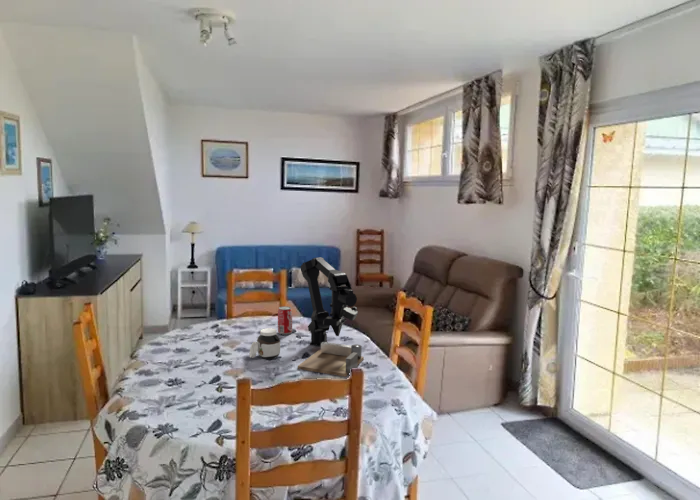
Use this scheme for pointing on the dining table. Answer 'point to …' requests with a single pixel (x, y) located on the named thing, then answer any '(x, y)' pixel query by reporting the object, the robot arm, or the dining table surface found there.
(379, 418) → the dining table surface
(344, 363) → the frame
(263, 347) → the spread jar
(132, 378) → the dining table surface
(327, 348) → the latch bar
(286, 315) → the soda can
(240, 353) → the dining table surface
